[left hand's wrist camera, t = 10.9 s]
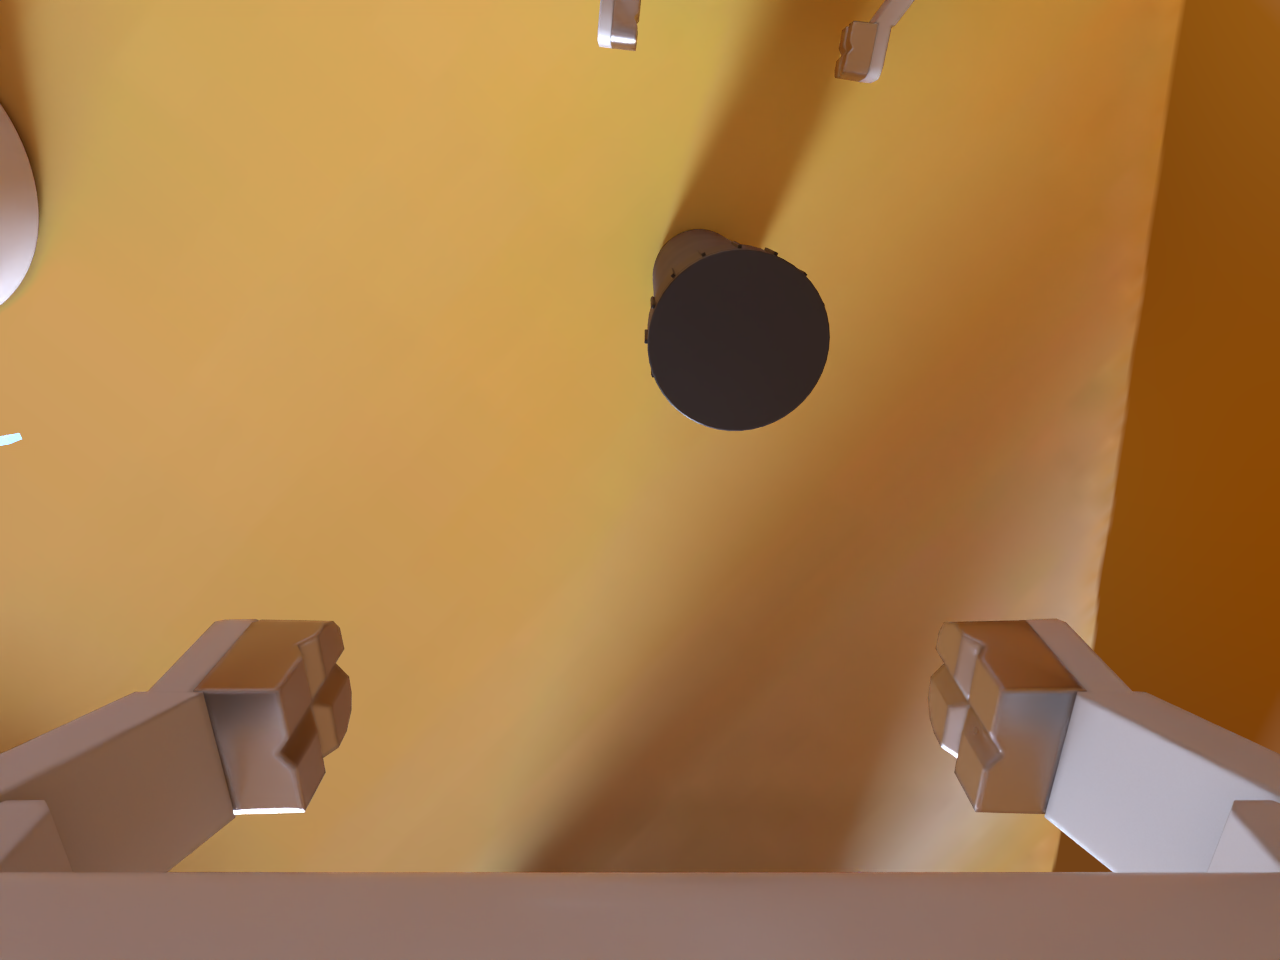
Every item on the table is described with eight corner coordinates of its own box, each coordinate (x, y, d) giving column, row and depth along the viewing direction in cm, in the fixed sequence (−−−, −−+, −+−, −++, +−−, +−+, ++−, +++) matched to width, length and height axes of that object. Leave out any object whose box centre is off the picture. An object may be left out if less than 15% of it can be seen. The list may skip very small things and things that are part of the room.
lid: (613, 307, 23) (609, 319, 21) (758, 205, 22) (770, 207, 20) (704, 440, 24) (709, 465, 22) (844, 351, 23) (864, 368, 21)
